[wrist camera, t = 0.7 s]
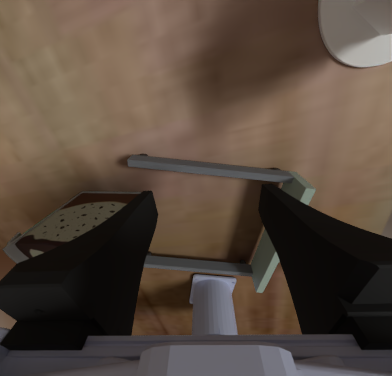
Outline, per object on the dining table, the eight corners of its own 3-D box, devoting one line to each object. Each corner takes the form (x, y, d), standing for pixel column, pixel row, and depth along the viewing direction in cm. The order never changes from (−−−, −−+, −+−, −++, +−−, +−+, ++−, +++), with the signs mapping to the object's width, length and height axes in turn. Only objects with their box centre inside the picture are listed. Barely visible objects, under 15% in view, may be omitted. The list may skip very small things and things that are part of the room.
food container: (85, 225, 27) (29, 290, 18) (71, 191, 24) (-4, 249, 15) (164, 226, 27) (146, 293, 18) (160, 192, 24) (136, 252, 15)
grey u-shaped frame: (253, 264, 30) (262, 292, 26) (142, 254, 30) (132, 281, 25) (293, 169, 21) (316, 189, 17) (134, 152, 21) (117, 168, 16)
